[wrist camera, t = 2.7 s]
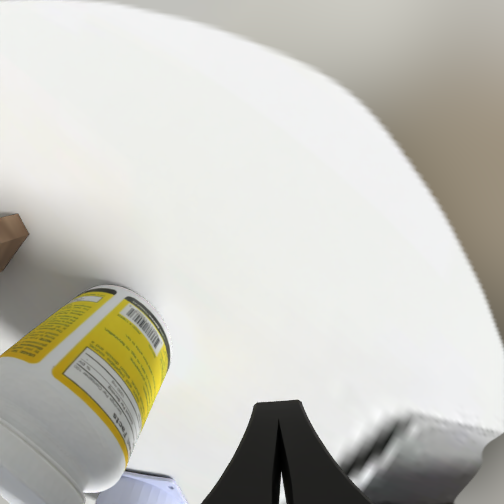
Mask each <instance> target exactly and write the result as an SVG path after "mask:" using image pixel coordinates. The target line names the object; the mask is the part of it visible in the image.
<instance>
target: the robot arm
mask: <svg viewBox="0 0 504 504" xmlns="http://www.w3.org/2000/svg"><path fill="white" fill-rule="evenodd" d="M281 472H282V478H283V484H284V490H285V497H286V503H287V504H374V503H373V502H372V501H371V500H370V499H369V498H368V497H367V496H366V495H365V494H364V493H363V492H362V491H361V490H360V489H359V488H358V487H357V486H356V485H355V484H354V483H353V482H352V481H351V480H350V479H349V477H348V476H347V475H346V474H345V473H344V472H343V470H342V469H341V468H340V467H339V465H338V464H337V463H336V462H335V460H334V459H333V457H332V456H331V455H330V453H329V452H328V450H327V449H326V447H325V446H324V444H323V443H322V441H321V440H320V438H319V437H318V435H317V433H316V432H315V430H314V428H313V426H312V425H311V423H310V421H309V419H308V417H307V415H306V412H305V410H304V408H303V405H302V402H301V401H299V400H289V401H276V402H259V403H256V404H255V405H254V407H253V411H252V415H251V418H250V421H249V424H248V426H247V429H246V431H245V433H244V436H243V438H242V440H241V442H240V444H239V446H238V448H237V450H236V452H235V454H234V456H233V458H232V460H231V461H230V463H229V464H228V466H227V468H226V469H225V471H224V473H223V474H222V476H221V478H220V479H219V481H218V482H217V483H216V485H215V486H214V488H213V489H212V490H211V492H210V493H209V494H208V496H207V497H206V498H205V499H204V501H203V502H202V503H201V504H279V495H280V481H281ZM95 504H188V503H187V502H186V500H185V498H184V496H183V494H182V492H181V491H180V489H179V487H178V485H177V483H176V481H175V480H173V479H170V478H164V477H156V476H150V475H143V474H137V473H132V472H127V471H124V473H123V474H122V476H121V478H120V479H119V480H118V482H117V483H116V484H115V485H113V486H112V487H111V488H109V489H107V490H104V491H101V492H100V493H99V496H98V498H97V500H96V502H95Z"/></svg>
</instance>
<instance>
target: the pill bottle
mask: <svg viewBox="0 0 504 504" xmlns="http://www.w3.org/2000/svg"><path fill="white" fill-rule="evenodd" d="M171 359H172V340H171V336H170V332H169V329H168V327H167V325H166V323H165V321H164V320H163V318H162V317H161V315H160V314H159V313H158V311H157V310H156V309H155V308H154V307H153V306H152V305H151V304H150V303H149V302H148V301H147V300H145V299H144V298H143V297H141V296H140V295H138V294H137V293H135V292H133V291H131V290H129V289H126V288H123V287H120V286H115V285H100V286H96V287H93V288H90V289H88V290H86V291H85V292H83V293H82V294H80V295H79V296H77V297H76V298H74V299H73V300H72V301H70V302H69V303H68V304H66V305H65V306H64V307H62V308H61V309H59V310H58V311H57V312H56V313H54V314H53V315H52V316H50V317H49V318H48V319H46V320H45V321H44V322H42V323H41V324H40V325H39V326H37V327H36V328H35V329H33V330H32V331H31V332H29V333H28V334H27V335H26V336H24V337H23V338H22V339H21V340H19V341H18V342H17V343H16V344H14V345H13V346H12V347H11V348H9V349H8V350H7V351H5V352H4V353H3V354H2V355H1V356H0V495H1V496H2V497H3V498H4V499H5V500H7V501H8V502H9V503H11V504H85V502H86V499H85V495H84V493H96V492H101V491H104V490H107V489H109V488H111V487H112V486H113V485H115V484H116V483H117V482H118V480H119V479H120V478H121V476H122V474H123V473H124V471H125V469H126V466H127V463H128V461H129V459H130V456H131V454H132V452H133V449H134V447H135V444H136V442H137V439H138V437H139V435H140V433H141V430H142V428H143V426H144V423H145V421H146V419H147V417H148V414H149V412H150V410H151V407H152V405H153V402H154V400H155V398H156V396H157V393H158V391H159V389H160V387H161V385H162V382H163V380H164V378H165V376H166V373H167V371H168V369H169V366H170V363H171ZM83 492H84V493H83Z"/></svg>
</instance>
